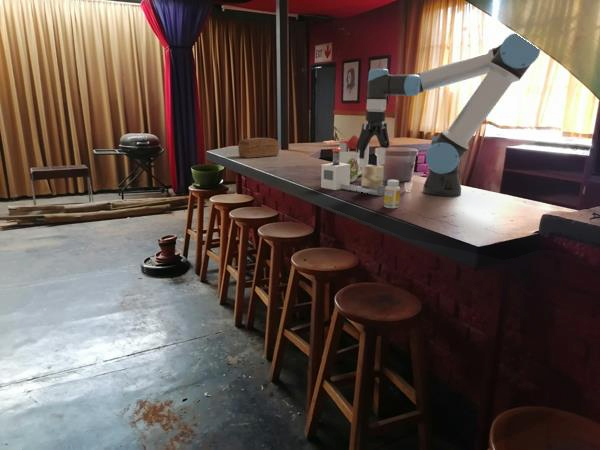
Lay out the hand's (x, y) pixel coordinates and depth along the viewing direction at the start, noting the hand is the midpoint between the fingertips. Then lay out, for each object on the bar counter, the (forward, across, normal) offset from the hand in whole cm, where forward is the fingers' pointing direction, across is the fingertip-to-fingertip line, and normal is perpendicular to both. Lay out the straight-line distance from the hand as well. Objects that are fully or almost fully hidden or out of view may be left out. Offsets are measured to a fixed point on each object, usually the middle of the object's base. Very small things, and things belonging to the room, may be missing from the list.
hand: (372, 165), depth 174 cm
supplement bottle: (+12, +14, +18) cm, 26 cm away
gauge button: (+2, 0, -19) cm, 19 cm away
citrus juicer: (+12, -32, -32) cm, 47 cm away
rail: (+12, 0, -4) cm, 13 cm away
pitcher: (+12, -17, -24) cm, 32 cm away
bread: (+14, -47, -121) cm, 131 cm away
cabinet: (+12, 0, -18) cm, 22 cm away
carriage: (+9, 0, 0) cm, 9 cm away
